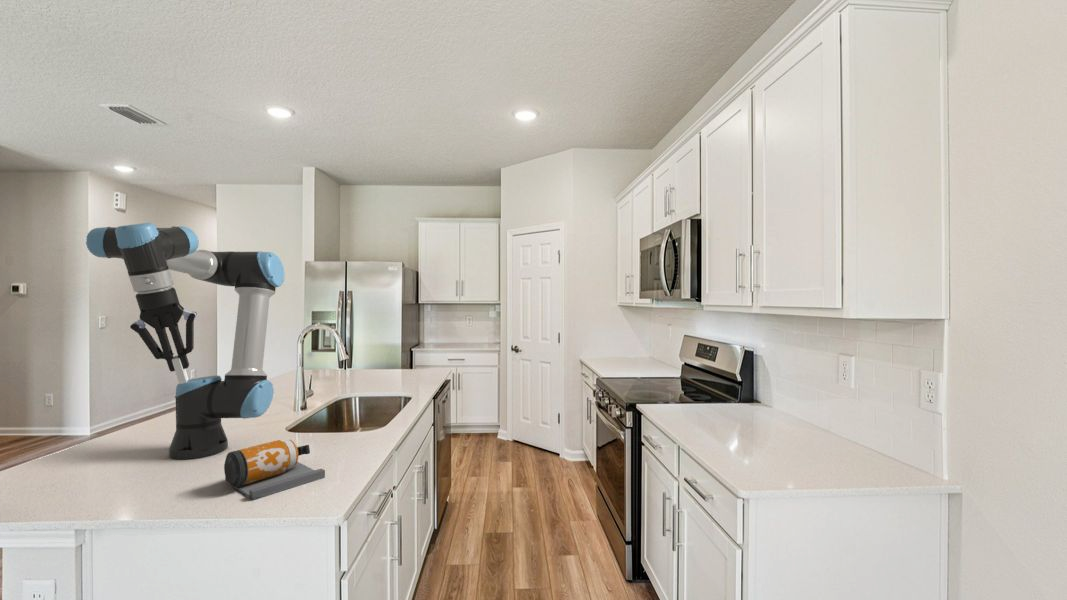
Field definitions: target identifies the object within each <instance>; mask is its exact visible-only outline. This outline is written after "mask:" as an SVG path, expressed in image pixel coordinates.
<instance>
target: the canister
mask: <svg viewBox="0 0 1067 600" xmlns="http://www.w3.org/2000/svg"><path fill="white" fill-rule="evenodd" d="M310 450H311V449H310V445H309V444H306V445H301V446H297V444H296V443H295V441H293V440H292V439H286V440H280V439H278V440H273V441H270V442H266V443H260V444H257V445H253V446H249V447H245V448H241V449H237V450H233V451H230V452H228V453H227V454H226V457H225V461H224V466H223V469H224V470H223V471H224V477H225V476H226V479H227V481H228V482H229V484H228V485H230V486H231V487H232V488H234V489H236V487H239V486H241V485H245V484H249V483H252V482H255V481H258V480H262V479H265V478H268V477H271V476H275V475H278V474H281V473H284V472H285V471H286V470H287V469H290V468H293V467H294V466H295V465H296V464H297V462H299V456H302V455H309V454H311V451H310Z"/></svg>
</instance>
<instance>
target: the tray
mask: <svg viewBox="0 0 1067 600" xmlns="http://www.w3.org/2000/svg"><path fill="white" fill-rule="evenodd" d="M224 478H225V480H224V481H225V483H227V484H228V483H229V482H228V481H227V479H226V476H225V475H224ZM325 478H326V471H325V469H323V468H319V469H314V468H311V467H308V466H307V465H305V464H303V463H301V462H299V461H298V462H297V464H296V465H295V466H294V467H293V468H290V469H287V470H286V471H285V472H284V473H281V474H278V475H275V476H271V477H268V478H265V479H262V480H258V481H255V482H252V483H249V484H245V485H241V486H239V487H236V488H235V490H237V489H238V490H237V491H239V492H240V491H241V492H242V493H241V492H240V493H241V494H243V495H244V494H245V495H244V496H246V497H247V496H248V497H247V498H249V499H250V500H252V501H255V500H258V499H261V498H265V497H267V496H270V495H274V494H277V493H281V492H283V491H287V490H290V489H292V488H296V487H298V486H302V485H305V484H308V483H311V482H315V481H318V480H322V479H325Z"/></svg>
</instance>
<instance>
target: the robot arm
mask: <svg viewBox="0 0 1067 600" xmlns="http://www.w3.org/2000/svg"><path fill="white" fill-rule="evenodd" d="M156 226H157V225H156V224H154V223H152V222H143V223H137V224H136V223H135V224H134V223H133V224H127V225H120V226H117V227H115V226H113V227H112V226H105V227H96V228H95V227H94V228H92V229H91V230H89V232H88V233H87V235H86V241H85V244H86V248H87V249H88V251H89V253H91V254H92V255H93V256H95V257H97V258H105V259H122V260H123V262H124V265H125V268H126V270H127V274H128V279H129V280H130V283H131V288H132V290H133V292H134V293H136V295H135V298H136V302H137V305H138V308H139V311H140V314H139V319H137V321H135V322H133V323H132V324H130V329H131V330H132V331H134V332H135V333H137V334H138V335H139V337H140V339H142V341H143V343H144V344H145V346H146V347H147V348H148V350H149V351H150V353H151V354H152V356H153V357H154V359H156V360H165V361H166V363H167V367H168V369H169V371H170V372H175V375H176V379H177V382H178V384H177V385H176V387H175V396H174V398H175V425H176V426H175V432H174V435H173V437H172V440H171V443H170V446H169V449H168V456H169V458H171V459H175V460H191V459H192V460H193V459H198V458H204V457H208V456H212V455H216V454H219V453H221V452H223V451H225V450H227V449H228V447H229V440H228V439H229V438H228V437H227V434H226V432H225V430H224V427H223V425H222V419H249V418H251V419H253V418H260V417H261V416H263V415H264V414H265V413H266V412H267V411H268V409H269V408H270V406H271V404H272V401H273V399H274V398H273V397H274V393H275V391H274V385H273V383H272V381H270V380H268V374H267V373H266V372H265V371H264V370H263V367H264V357H265V348H266V347H265V346H266V336H267V326H268V319H269V318H268V317H269V315H268V314H269V306H270V298H271V297H273V296H274V295H275V294H276V288H279V287H281V286H282V285H283V284H284V281H285V269H284V265H283V262H282V260H281V258H280V257H279V256H278V255H277V254H275V253H274V252H271V251H269V252H268V251H261V250H260V251H209V250H206V249H198V248H199V244H200V243H199V238H198V236H197V234H196V233H195V231H193V230H192V229H191V228H189V227H186V226H171V227H156ZM171 271H174V272H178V273H182V274H187V275H189V276H190V278H192V279H195V280H199V281H202V282H206V283H211V284H213V285H214V284H215V285H218V286H219V285H220V286H225V287H234V291H235V292H236V293H237V295H238V306H237V315H236V323H235V324H236V325H235V331H234V332H235V333H234V340H233V350H232V358H231V367H230V370H229V371H228V372H226V373H225V374H224V379H222V377H221V375H209V376H203V377H197V378H191V379H190V378H189V376H188V373H187V370H186V369H188V368H189V367H190V362H189V359H188V356H187V355H188V354H190V353H192V351H193V350H194V346H195V345H194V343H195V342H194V338H195V337H194V332H195V330H194V329H195V328H194V324H195V323H194V322H195V319H196V317H197V312H196V311H189V310H186V309H185V308H184V307H183V305H181V303H180V300H179V297H178V294H177V290H176V288H175V287H173V286H174V280H173V277H172V275H171ZM182 317H183V319H184V320H185V344H184V341H183V338H182V335H181V332H180V329H179V324H178V323H179V322H180V320H181V318H182ZM146 325H148V326H150V327H151V328H153V329H154V331H155V334H156V335H157V338H158V341H159V343H160V345H158V343H157V342H156V341H155V339H154V337H153V336H152V335H151V332H150V331H149V330H148V329H147V328H146ZM166 328H168V330H169V332H170V336H171V339H172V342H173V344H174V347H175V351H176V353H177V355H175V353H174V352H173V350H172V346H171V344H170V340H169V336H168V333H167V329H166Z"/></svg>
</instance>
